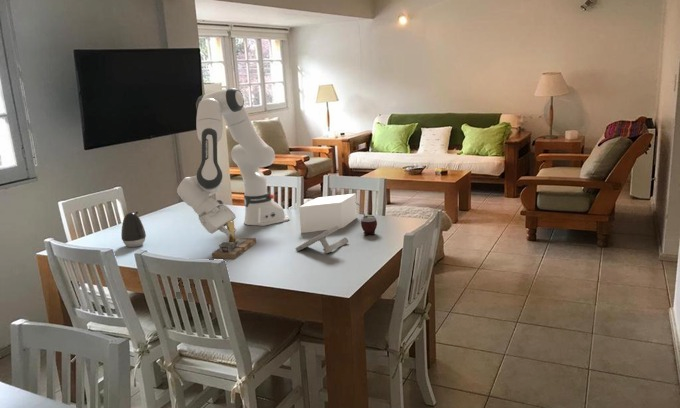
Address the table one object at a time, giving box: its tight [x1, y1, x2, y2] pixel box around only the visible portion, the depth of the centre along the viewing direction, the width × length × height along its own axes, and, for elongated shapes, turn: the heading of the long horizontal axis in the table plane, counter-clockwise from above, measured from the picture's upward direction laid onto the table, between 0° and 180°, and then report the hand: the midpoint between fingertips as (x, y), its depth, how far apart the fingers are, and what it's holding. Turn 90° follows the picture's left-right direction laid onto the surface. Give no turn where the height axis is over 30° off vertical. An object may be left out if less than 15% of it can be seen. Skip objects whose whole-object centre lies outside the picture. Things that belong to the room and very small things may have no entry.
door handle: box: [295, 225, 349, 254], centre depth 233 cm, size 18×8×20 cm
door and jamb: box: [211, 237, 257, 260], centre depth 238 cm, size 22×10×5 cm, turn 166°
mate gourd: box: [355, 201, 378, 237], centre depth 249 cm, size 8×8×15 cm
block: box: [298, 193, 358, 234], centre depth 269 cm, size 18×35×12 cm, turn 131°
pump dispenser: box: [121, 211, 147, 248], centre depth 251 cm, size 10×10×15 cm
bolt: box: [223, 220, 238, 251], centre depth 233 cm, size 10×3×10 cm, turn 166°
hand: (232, 233), depth 234 cm, fingers closed on bolt, 3 cm apart
